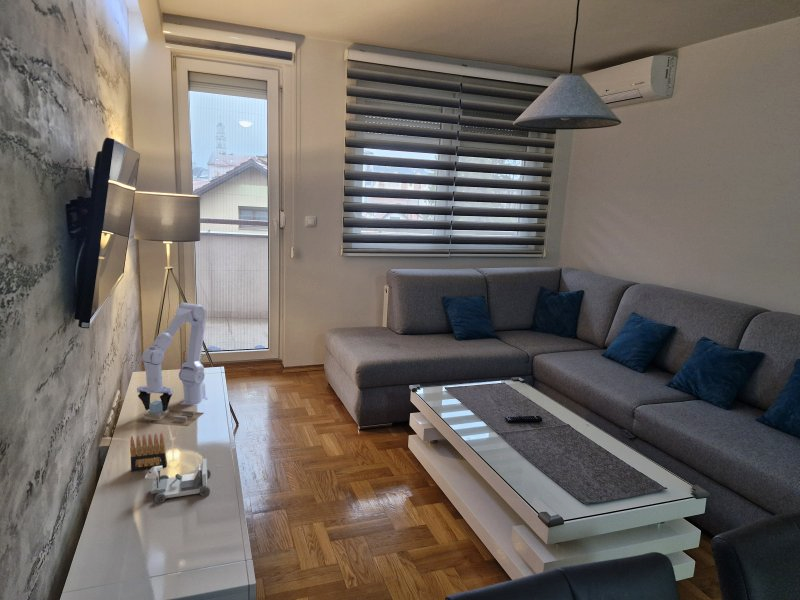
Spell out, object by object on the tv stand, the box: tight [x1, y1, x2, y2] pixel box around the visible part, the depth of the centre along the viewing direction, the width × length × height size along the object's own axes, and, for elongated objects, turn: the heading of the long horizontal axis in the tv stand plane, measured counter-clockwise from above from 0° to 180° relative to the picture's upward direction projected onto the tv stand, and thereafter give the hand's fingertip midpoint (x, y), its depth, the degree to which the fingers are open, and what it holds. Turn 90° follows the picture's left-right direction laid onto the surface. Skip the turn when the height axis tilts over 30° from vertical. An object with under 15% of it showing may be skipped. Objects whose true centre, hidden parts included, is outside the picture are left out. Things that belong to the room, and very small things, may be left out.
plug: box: [148, 400, 163, 414], centre depth 209 cm, size 4×3×6 cm
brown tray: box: [135, 407, 205, 427], centre depth 209 cm, size 13×22×3 cm, turn 83°
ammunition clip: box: [129, 432, 168, 472], centre depth 170 cm, size 11×2×12 cm, turn 108°
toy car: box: [144, 458, 211, 504], centre depth 158 cm, size 18×10×12 cm
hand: (156, 409), depth 209 cm, fingers open, 7 cm apart
